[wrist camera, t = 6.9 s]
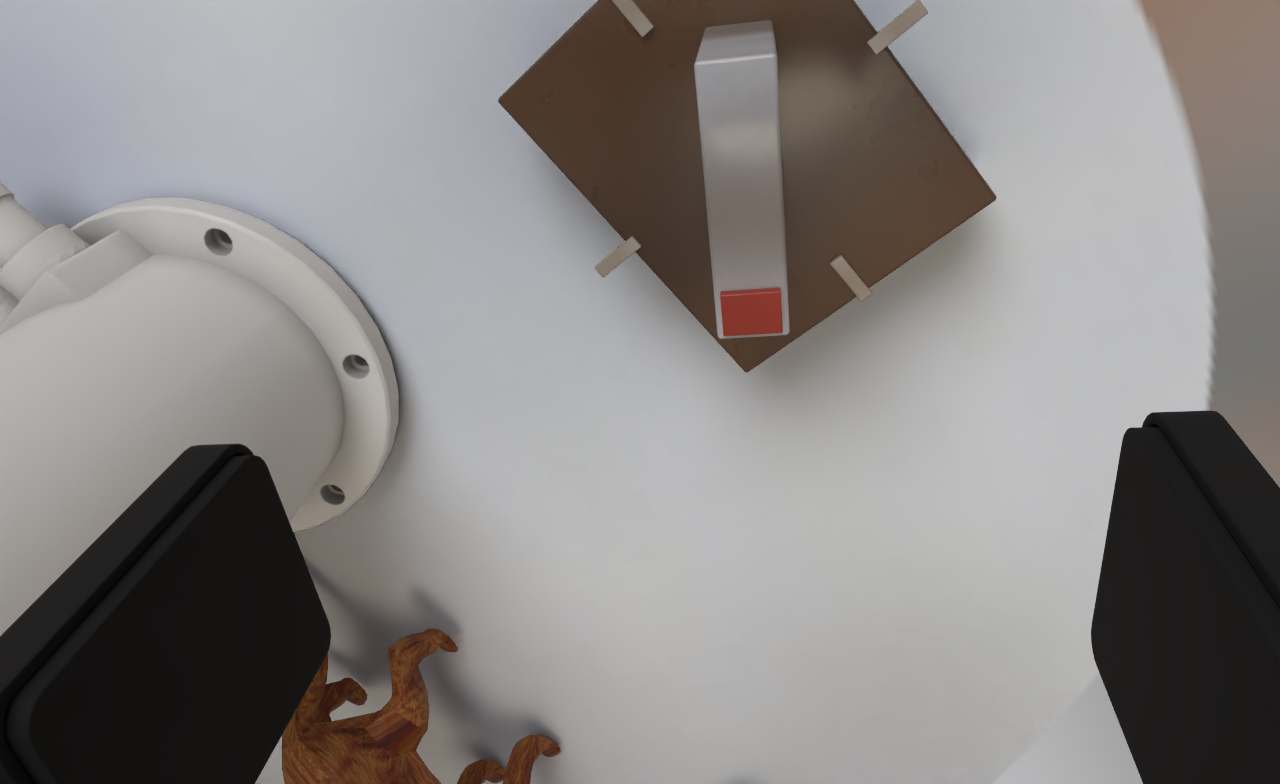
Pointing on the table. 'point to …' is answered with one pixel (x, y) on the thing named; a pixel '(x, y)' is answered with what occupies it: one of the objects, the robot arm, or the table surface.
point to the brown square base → (810, 142)
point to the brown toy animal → (384, 730)
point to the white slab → (743, 177)
